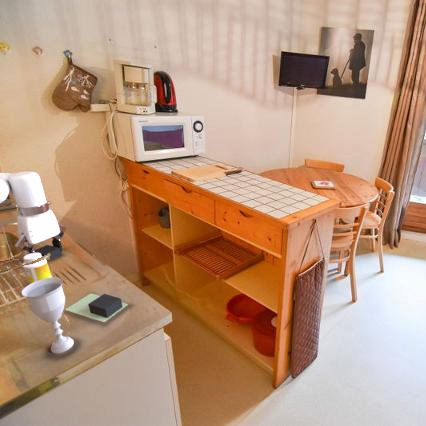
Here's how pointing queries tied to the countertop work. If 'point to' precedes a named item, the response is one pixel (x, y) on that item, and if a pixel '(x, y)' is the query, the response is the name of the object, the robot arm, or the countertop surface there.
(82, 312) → the mat
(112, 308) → the pad
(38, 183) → the robot arm
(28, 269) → the supplement bottle
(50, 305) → the chalice
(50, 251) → the loose pad
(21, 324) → the countertop surface
